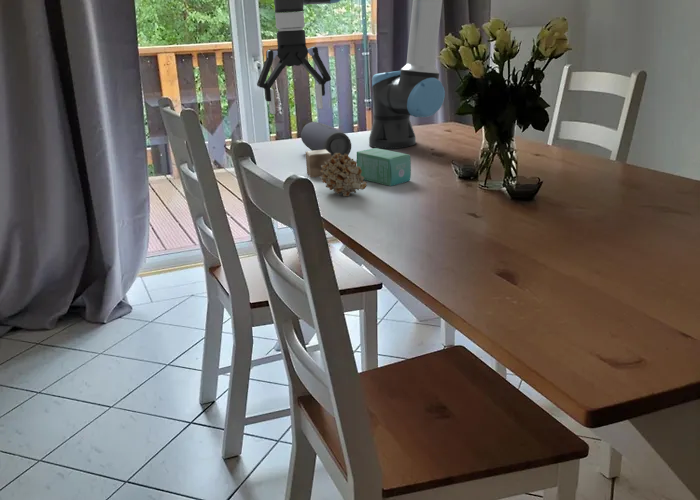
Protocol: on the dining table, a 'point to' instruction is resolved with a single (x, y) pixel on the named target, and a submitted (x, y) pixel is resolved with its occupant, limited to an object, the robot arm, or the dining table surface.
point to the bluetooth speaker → (325, 138)
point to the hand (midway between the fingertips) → (296, 110)
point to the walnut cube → (316, 161)
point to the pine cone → (342, 174)
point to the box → (384, 166)
